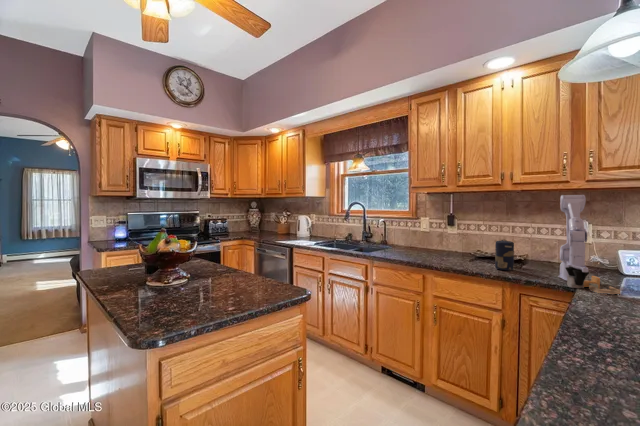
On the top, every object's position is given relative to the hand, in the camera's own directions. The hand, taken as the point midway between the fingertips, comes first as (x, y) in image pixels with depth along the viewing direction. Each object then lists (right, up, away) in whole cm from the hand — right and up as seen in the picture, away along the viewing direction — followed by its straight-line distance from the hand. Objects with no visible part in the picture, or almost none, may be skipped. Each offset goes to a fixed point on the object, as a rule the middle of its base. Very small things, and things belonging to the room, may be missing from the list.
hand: (576, 283), depth 147 cm
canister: (-12, 0, +37) cm, 39 cm away
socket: (+5, -1, -1) cm, 5 cm away
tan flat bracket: (+5, -2, -9) cm, 11 cm away
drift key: (+4, -1, -1) cm, 5 cm away
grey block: (0, -2, 0) cm, 2 cm away
